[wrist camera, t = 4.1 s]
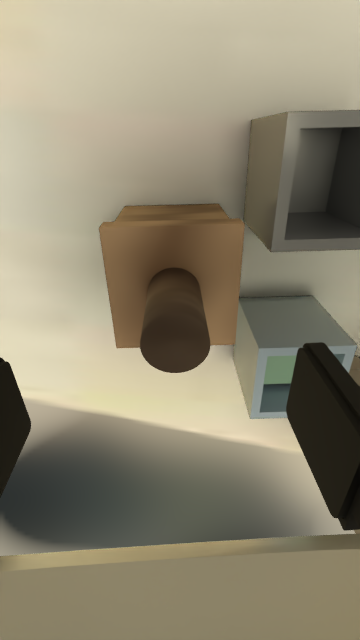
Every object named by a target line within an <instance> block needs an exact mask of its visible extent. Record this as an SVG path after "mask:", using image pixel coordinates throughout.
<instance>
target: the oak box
mask: <svg viewBox="0 0 360 640" xmlns="http://www.w3.org/2000/svg"><path fill="white" fill-rule="evenodd" d="M200 219H229V217H228V216H227V214H226V213H225V212H224V210H223V209H222V207H221V206H220V205H219V204H188V205H151V206H125V207H124V208H123V210H122V211H121V213H120V214H119V216H118V217H117V219H116V220H115V222H128V221H164V220H200Z"/></svg>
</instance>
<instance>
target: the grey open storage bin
mask: <svg viewBox="0 0 360 640" xmlns="http://www.w3.org/2000/svg"><path fill="white" fill-rule="evenodd" d="M244 222H245V223H246V224H247V225H248V226H249V228H250V229H251V230H252V231H253V232H254V233H255V234H256V236H257V237H258V238H259V239H260V240H261V241H262V242H263V244H264V245H265V246H266V247H267V248H268V249H269V250H270V252H290V251H324V250H359V249H360V110H338V111H297V112H285V113H280V114H276V115H271V116H267V117H262V118H258V119H253V120H251V132H250V145H249V158H248V171H247V184H246V197H245V210H244Z"/></svg>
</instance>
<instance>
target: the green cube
mask: <svg viewBox="0 0 360 640" xmlns="http://www.w3.org/2000/svg"><path fill="white" fill-rule="evenodd" d="M296 356H297V355H292V356H268V357H267V364H266V371H265V378H264V384H287V383H291V381H292V376H293V371H294V366H295V361H296Z"/></svg>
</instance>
